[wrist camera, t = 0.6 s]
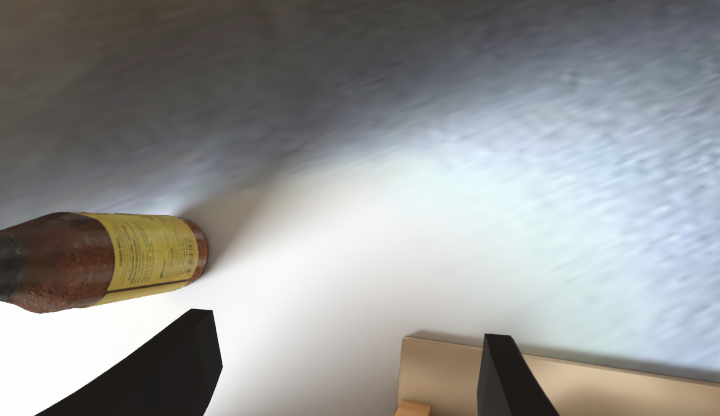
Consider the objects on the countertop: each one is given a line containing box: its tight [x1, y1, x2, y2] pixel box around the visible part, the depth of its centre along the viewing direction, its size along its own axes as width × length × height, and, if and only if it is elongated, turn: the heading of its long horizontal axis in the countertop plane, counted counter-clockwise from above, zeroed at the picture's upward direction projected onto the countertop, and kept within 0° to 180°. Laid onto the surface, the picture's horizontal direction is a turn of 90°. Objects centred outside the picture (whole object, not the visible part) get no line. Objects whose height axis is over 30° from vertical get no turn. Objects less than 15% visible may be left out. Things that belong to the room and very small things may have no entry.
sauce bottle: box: [0, 212, 208, 314], centre depth 32 cm, size 6×6×20 cm
